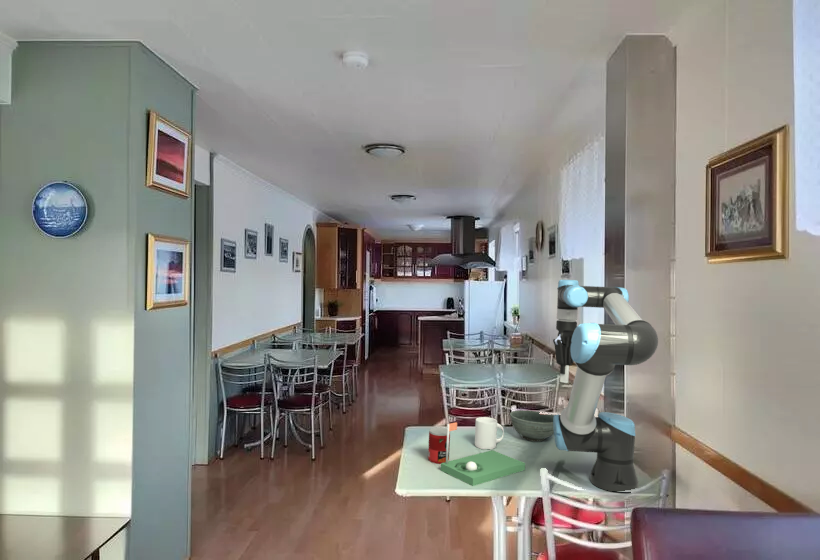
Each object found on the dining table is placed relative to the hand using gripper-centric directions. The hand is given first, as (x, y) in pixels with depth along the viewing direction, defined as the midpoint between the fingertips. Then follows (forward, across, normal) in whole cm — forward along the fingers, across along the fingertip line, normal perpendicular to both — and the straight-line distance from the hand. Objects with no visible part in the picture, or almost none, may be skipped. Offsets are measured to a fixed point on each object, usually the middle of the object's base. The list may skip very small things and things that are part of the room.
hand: (564, 382), depth 202 cm
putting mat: (+29, +34, -8) cm, 46 cm away
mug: (+30, +13, -25) cm, 41 cm away
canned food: (+30, +41, -24) cm, 56 cm away
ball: (+27, +40, -8) cm, 49 cm away
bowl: (+30, -11, -22) cm, 38 cm away
